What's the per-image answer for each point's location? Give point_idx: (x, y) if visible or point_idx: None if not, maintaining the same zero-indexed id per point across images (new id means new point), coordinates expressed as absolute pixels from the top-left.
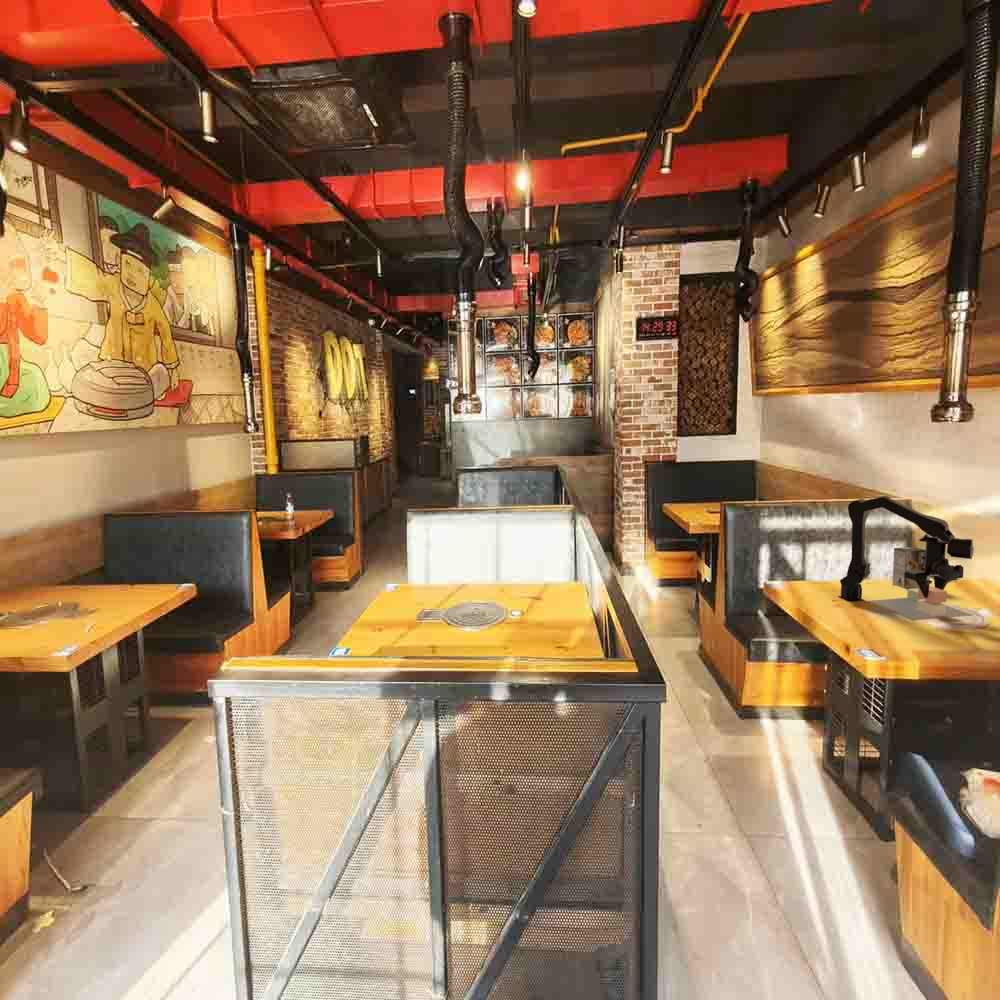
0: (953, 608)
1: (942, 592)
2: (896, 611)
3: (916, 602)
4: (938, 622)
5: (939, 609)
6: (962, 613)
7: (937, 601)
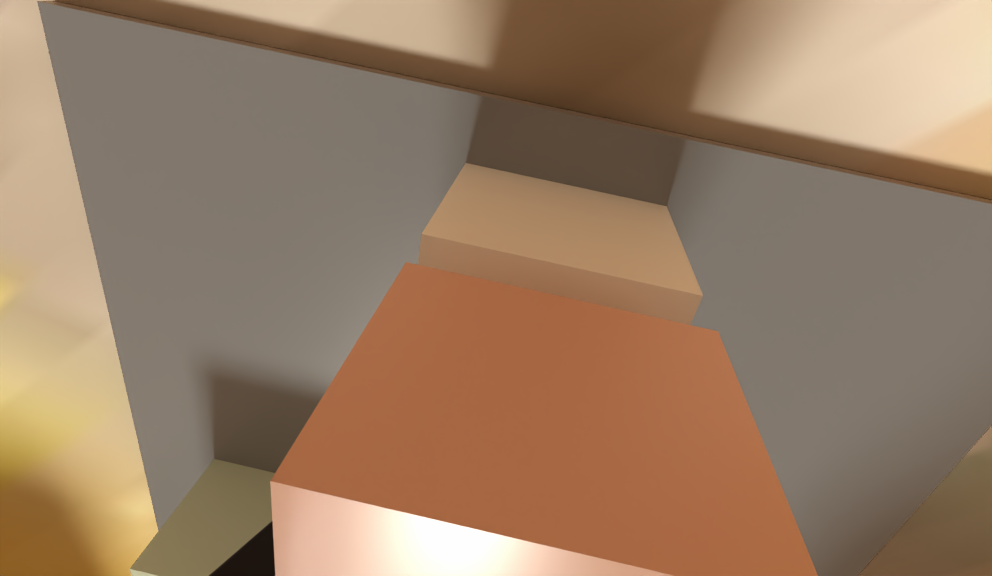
0: (116, 292)
1: (484, 500)
2: (843, 504)
3: None
4: (843, 18)
5: (569, 229)
6: (143, 121)
7: (637, 335)
